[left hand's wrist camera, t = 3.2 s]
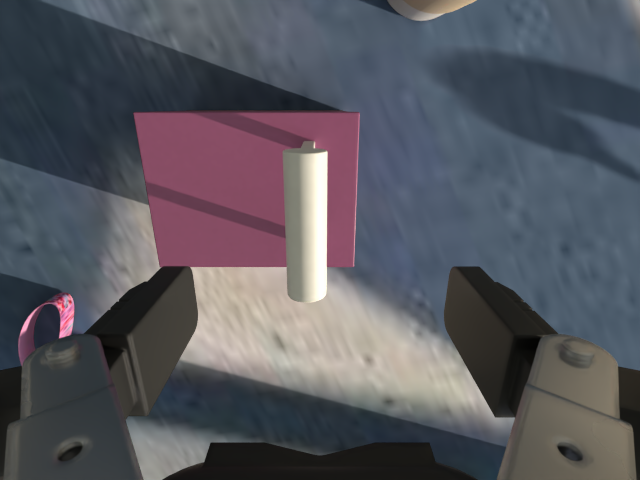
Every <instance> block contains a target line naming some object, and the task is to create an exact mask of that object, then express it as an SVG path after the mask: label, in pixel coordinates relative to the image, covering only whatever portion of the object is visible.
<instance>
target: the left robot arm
mask: <svg viewBox="0 0 640 480" xmlns="http://www.w3.org/2000/svg"><path fill="white" fill-rule="evenodd" d="M523 301H524V300H523V299H521V298H520V297H519V296H518V295H517V294H516V293H515V292H514V291H513V290H511V289H509V288H507V287H506V286H504V285H502V284H500V283H498V282H494V281H493V280H492V279H491V278H490V277H489V276H488V275H487V274H486V273H485V272H484V271H483V270H482V269H481V268H480V267H452V269H451V271H450V274H449V281H448V288H447V295H446V302H445V309H444V322H445V327H446V330H447V332H448V334H449V336H450V338H451V340H452V341H453V343H454V345H455V347H456V348H457V350H458V352H459V354H460V356H461V357H462V359H463V361H464V363H465V364H466V366H467V368H468V370H469V372H470V373H471V375H472V377H473V379H474V380H475V382H476V384H477V386H478V388H479V389H480V391H481V393H482V395H483V396H484V398H485V400H486V402H487V404H488V405H489V407H490V409H491V411H492V412H493V414H494V416H495V417H515V421H514V424H513V427H512V430H511V434H510V437H509V440H508V444H507V447H506V450H505V454H504V457H503V460H502V464H501V467H500V470H499V474H498V477H497V480H640V371H638V370H633V369H628V368H623V367H618V365H617V362H616V360H615V359H614V358H613V357H612V356H611V355H610V354H609V353H608V352H607V351H605V350H604V349H602V348H601V347H599V346H597V345H595V344H594V343H592V342H589V341H587V340H584V339H581V338H578V337H574V336H570V335H564V334H558V333H557V332H556V331H555V330H554V329H553V328H552V327H551V326H550V325H549V324H548V323H547V322H546V321H544V320H543V319H542V318H541V317H540V316H539V315H538V314H537V313H536V312H535V311H532V308H531V307H530V306H529V305H528V304H527V303H526V302H523ZM197 321H198V309H197V302H196V295H195V288H194V281H193V274H192V270H191V268H190V267H189V266H163V267H161V268H160V269H159V270H158V271H157V272H156V273H155V274H154V276H153V277H152V278H151V279H150V280H149V281H148V282H143V283H141V284H139V285H137V286H136V287H134V288H132V289H130V290H129V291H128V292H127V293H126V294H124V295H123V296H122V297H121V298H120V299H119V302H116V303H115V304H114V305H113V306H112V307H111V310H108V311H107V312H106V313H105V314H104V315H103V316H102V317H101V318H100V319H99V320H98V321H97V322H95V323H94V324H93V325H92V326H91V327H90V328H89V329H88V330H87V331H86V332H85V333H84V334H76V335H70V336H66V337H62V338H59V339H56V340H53V341H51V342H48V343H46V344H45V345H43V346H41V347H39V348H38V349H36V350H35V351H33V352H32V353H31V354H30V355H29V356H28V357H27V358H26V359H25V360H24V362H23V365H22V366H20V367H14V368H9V369H4V370H0V480H143V477H142V474H141V470H140V467H139V464H138V460H137V457H136V454H135V450H134V447H133V444H132V440H131V437H130V434H129V430H128V427H127V424H126V421H125V420H126V418H127V417H128V416H148V414H149V413H150V411H151V409H152V407H153V405H154V404H155V402H156V400H157V398H158V396H159V395H160V393H161V391H162V389H163V387H164V386H165V384H166V382H167V380H168V378H169V377H170V375H171V373H172V371H173V369H174V368H175V366H176V364H177V362H178V360H179V359H180V357H181V355H182V353H183V351H184V350H185V348H186V346H187V344H188V342H189V341H190V339H191V337H192V335H193V333H194V332H195V329H196V326H197ZM163 480H477V479H475V478H474V477H472V476H470V475H468V474H466V473H464V472H462V471H460V470H458V469H455V468H452V467H449V466H447V465H444V464H440V463H437V462H435V459H434V456H433V452H432V449H431V446H430V443H372V444H368V445H364V446H360V447H356V448H352V449H348V450H344V451H340V452H336V453H332V454H327V455H322V456H318V455H313V454H308V453H304V452H300V451H296V450H292V449H288V448H284V447H280V446H276V445H272V444H268V443H210V446H209V449H208V452H207V456H206V459H205V462H204V463H200V464H196V465H193V466H191V467H188V468H185V469H182V470H180V471H178V472H176V473H174V474H172V475H170V476H168V477H166V478H165V479H163Z"/></svg>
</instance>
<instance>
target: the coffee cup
mask: <svg viewBox="0 0 640 480" xmlns="http://www.w3.org/2000/svg"><path fill="white" fill-rule="evenodd" d="M387 1H388V2H389V4H390V5H391V6H392V8H393V9H394V10H395V11H397V12H398V13H399V14H401V15H402V16H404V17H406V18H409V19H412V20H418V21H424V20H430V19H434V18H436V17H438V16H440V15H443V14H445V13H448V12H452V11H455V10H457V9H459V8H461V7H464V6H466V5H468V4H470V3H472V2H474V1H476V0H387Z"/></svg>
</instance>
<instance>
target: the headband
mask: <svg viewBox="0 0 640 480" xmlns="http://www.w3.org/2000/svg"><path fill="white" fill-rule="evenodd" d="M45 304H54V305H55V306H56V307H57V308H58V310H59V313H60V334H59V338H62V337H66V336H70V335H71V332H72V326H73V319H74V302H73V299H72V297H71V295H69V294H68V293H59V294H57V295H55V296H53V297H52V298H50V299H49V300H47V301H46V302H45V303H43V304H42V305H40V306H39V307H38V308H36V309H35V310H34V311H33V312H32V313H31V314H30V315H29V317H28V318H27V319H26V321H25V323H24V325H23V327H22V329H21V332H20V336H19V339H18V351H19V358H20V362H21V365H23V362H24V360H25V359H26V358H27V357H28V356H29V355H30V354H31V353H32V352H33V351H35V345H34V327H35V323H36V320H37V317H38V315H39V313H40V311H41V309H42V308H43V306H44V305H45Z"/></svg>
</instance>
